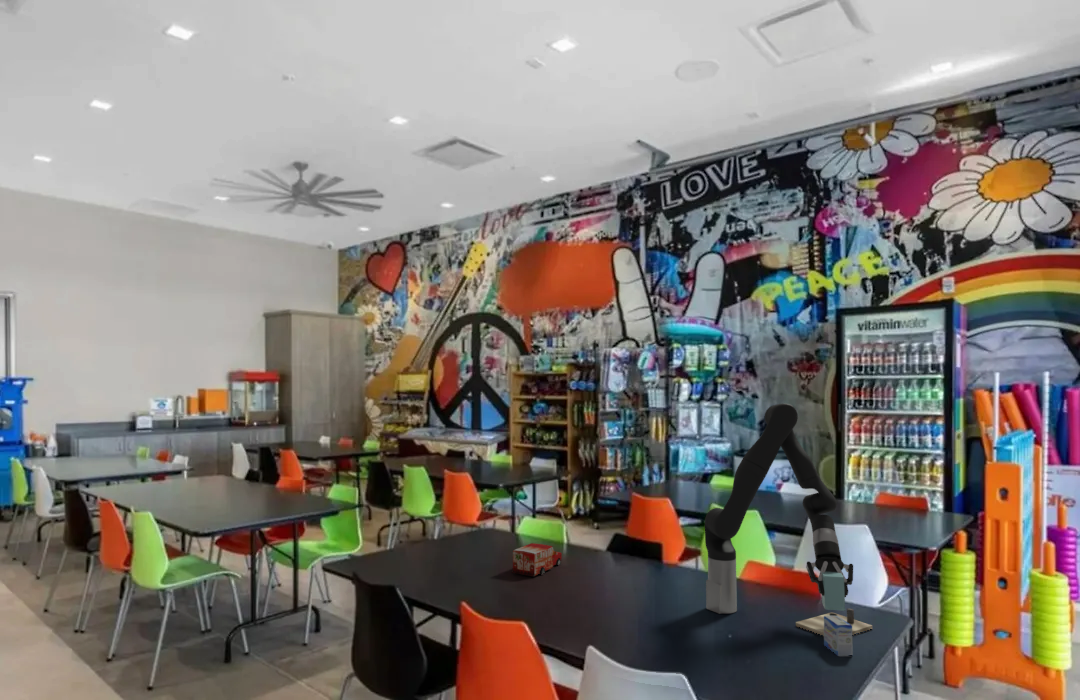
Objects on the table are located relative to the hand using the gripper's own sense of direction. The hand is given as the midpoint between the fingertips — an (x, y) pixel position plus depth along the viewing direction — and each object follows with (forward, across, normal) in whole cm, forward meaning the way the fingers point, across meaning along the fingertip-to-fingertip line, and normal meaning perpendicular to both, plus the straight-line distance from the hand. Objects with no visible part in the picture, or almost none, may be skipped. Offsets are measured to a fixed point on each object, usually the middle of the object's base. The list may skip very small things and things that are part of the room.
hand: (834, 594), depth 203 cm
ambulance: (-25, -105, +41) cm, 115 cm away
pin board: (+5, 0, +12) cm, 13 cm away
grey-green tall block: (+2, 0, +4) cm, 5 cm away
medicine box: (+18, -2, -2) cm, 18 cm away
